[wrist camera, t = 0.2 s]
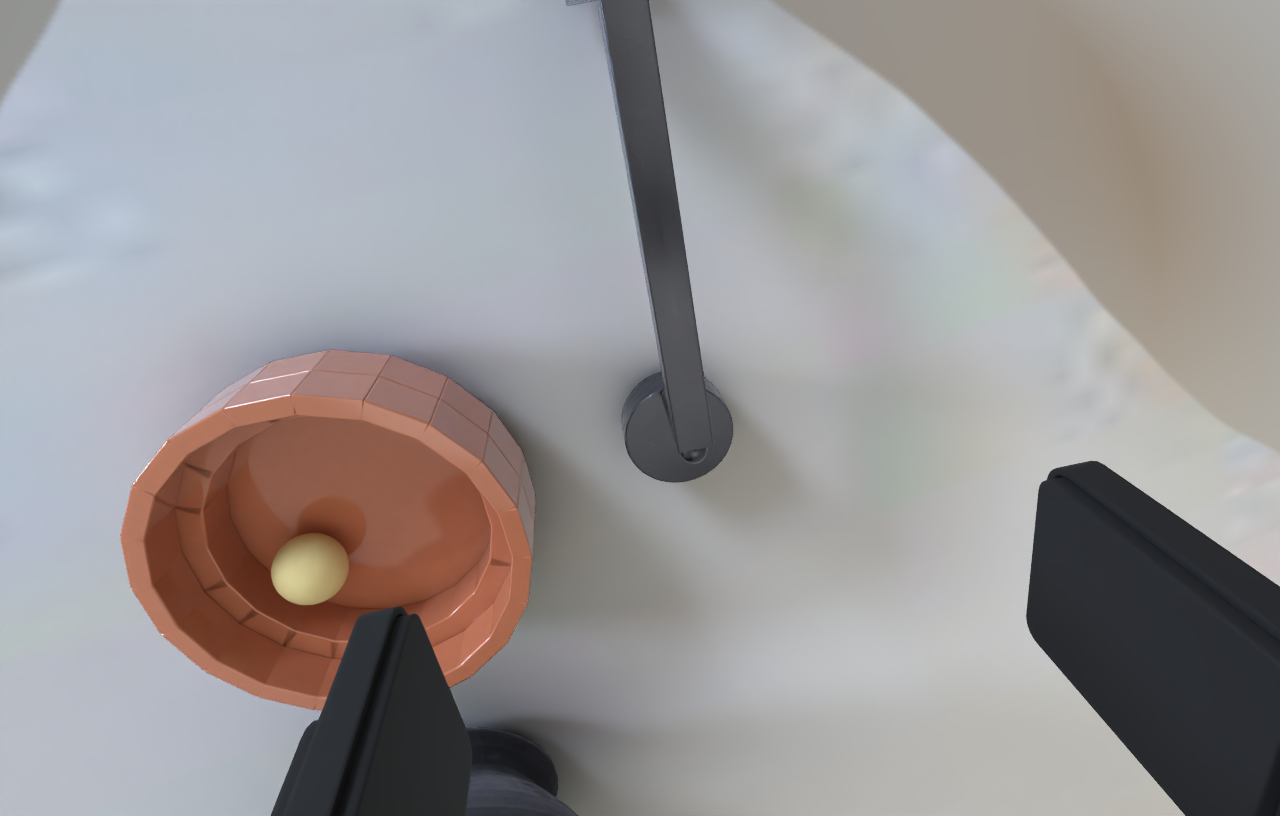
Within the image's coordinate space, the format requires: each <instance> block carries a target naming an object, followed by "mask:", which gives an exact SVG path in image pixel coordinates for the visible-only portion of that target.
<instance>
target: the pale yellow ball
mask: <svg viewBox="0 0 1280 816" xmlns="http://www.w3.org/2000/svg"><path fill="white" fill-rule="evenodd" d="M348 572H349V559H348V555H347V553H346V551H345V549H344V547H343V546H342V545H341V544H340V543H339V542H338V541H337V540H336V539H334V538H333V537H331V536H328V535H325V534H321V533H307V534H302V535H299V536H297V537H294V538H293V539H291V540H289V541H288V542H287V543H285V544H284V545H283V546H282V547H281V548H280V550H279V551H278V552H277V554H276V556H275V558H274V560H273V563H272V567H271V578H272V582H273V585H274V587H275V589H276V590H277V592H278V593H279V594H280V595H281V596H282V597H283V598H285V599H286V600H288V601H290V602H292V603H295V604H299V605H314V604H318V603H321V602H324V601H326V600H328V599H329V598H331V597H332V596H334V595H335V594H336V593H337V592H338V591H339V590H340V589H341V587H342V586H343V585H344V583H345V581H346V579H347V576H348Z"/></svg>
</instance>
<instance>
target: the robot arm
mask: <svg viewBox="0 0 1280 816" xmlns="http://www.w3.org/2000/svg"><path fill="white" fill-rule="evenodd" d="M1026 618H1027V624H1028V628H1029V630H1030V633H1031V635H1032V636H1033V638H1034V640H1035V641H1036V642H1037V644H1038V645H1039V646H1040V647H1041V648H1042V649H1043V650H1044V652H1045V653H1046V654H1047V655H1048V656H1049V657H1050V659H1051V660H1052V661H1053V662H1054V663H1055V664H1056V666H1057V667H1058V668H1059V669H1060V670H1061V671H1062V673H1063V674H1064V675H1065V676H1066V677H1067V678H1068V680H1069V681H1070V682H1071V683H1072V684H1073V685H1074V687H1075V688H1076V689H1077V690H1078V691H1079V692H1080V693H1081V695H1082V696H1083V697H1084V698H1085V699H1086V700H1087V702H1088V703H1089V704H1090V705H1091V706H1092V707H1093V709H1094V710H1095V711H1096V712H1097V713H1098V714H1099V716H1100V717H1101V718H1102V719H1103V720H1104V721H1105V723H1106V724H1107V725H1108V726H1109V727H1110V728H1111V730H1112V731H1113V732H1114V733H1115V734H1116V735H1117V736H1118V738H1119V739H1120V740H1121V741H1122V742H1123V743H1124V745H1125V746H1126V747H1127V748H1128V749H1129V750H1130V752H1131V753H1132V754H1133V755H1134V756H1135V757H1136V759H1137V760H1138V761H1139V762H1140V763H1141V764H1142V766H1143V767H1144V768H1145V769H1146V770H1147V771H1148V773H1149V774H1150V775H1151V776H1152V777H1153V778H1154V779H1155V781H1156V782H1157V783H1158V784H1159V785H1160V786H1161V788H1162V789H1163V790H1164V791H1165V792H1166V793H1167V795H1168V796H1169V797H1170V798H1171V799H1172V800H1173V802H1174V803H1175V804H1176V805H1177V806H1178V807H1179V809H1180V810H1181V811H1182V812H1183V813H1184V814H1185V816H1280V586H1278V585H1277V584H1275V583H1274V582H1272V581H1271V580H1269V579H1268V578H1267V577H1265V576H1264V575H1262V574H1261V573H1259V572H1258V571H1256V570H1255V569H1254V568H1252V567H1251V566H1249V565H1248V564H1246V563H1245V562H1243V561H1242V560H1241V559H1239V558H1238V557H1236V556H1235V555H1233V554H1232V553H1230V552H1229V551H1228V550H1226V549H1225V548H1223V547H1222V546H1220V545H1219V544H1217V543H1216V542H1215V541H1213V540H1212V539H1210V538H1209V537H1207V536H1206V535H1204V534H1203V533H1202V532H1200V531H1199V530H1197V529H1196V528H1194V527H1193V526H1192V525H1190V524H1189V523H1187V522H1186V521H1184V520H1183V519H1181V518H1180V517H1179V516H1177V515H1176V514H1174V513H1173V512H1171V511H1170V510H1168V509H1167V508H1166V507H1164V506H1163V505H1161V504H1160V503H1158V502H1157V501H1155V500H1154V499H1153V498H1151V497H1150V496H1148V495H1147V494H1145V493H1144V492H1142V491H1141V490H1140V489H1138V488H1137V487H1135V486H1134V485H1132V484H1131V483H1129V482H1128V481H1127V480H1125V479H1124V478H1122V477H1121V476H1119V475H1118V474H1117V473H1115V472H1114V471H1112V470H1111V469H1109V468H1108V467H1106V466H1105V465H1103V464H1101V463H1099V462H1097V461H1088V462H1083V463H1078V464H1074V465H1069V466H1064V467H1059V468H1056V469H1053V470H1052V471H1051V472H1050V473H1049V475H1048V478H1047V480H1046V481H1044V482H1042V483H1041V485H1040V487H1039V492H1038V502H1037V512H1036V522H1035V533H1034V543H1033V553H1032V563H1031V573H1030V584H1029V594H1028V604H1027V614H1026ZM471 767H472V747H471V741H470V738H469V735H468V732H467V730H466V727H465V725H464V723H463V720H462V718H461V715H460V713H459V710H458V708H457V706H456V703H455V701H454V698H453V696H452V694H451V691H450V689H449V686H448V684H447V681H446V679H445V677H444V674H443V672H442V669H441V667H440V665H439V662H438V660H437V657H436V655H435V652H434V650H433V648H432V645H431V643H430V640H429V638H428V635H427V633H426V631H425V628H424V626H423V623H422V621H421V619H420V617H419V616H418V615H417V614H409V615H408V614H407V613H406V611H405V610H404V609H403V608H402V607H399V606H398V607H393V608H389V609H384V610H379V611H374V612H370V613H365V614H362V615H360V616H359V617H358V618H357V620H356V622H355V625H354V627H353V630H352V633H351V635H350V638H349V641H348V643H347V646H346V649H345V651H344V654H343V657H342V659H341V662H340V665H339V667H338V670H337V672H336V675H335V678H334V680H333V683H332V686H331V688H330V691H329V694H328V696H327V699H326V702H325V704H324V707H323V709H322V712H321V715H320V717H319V720H317V721H313V722H312V723H311V724H310V725H309V726H308V727H307V728H306V730H305V732H304V734H303V736H302V738H301V740H300V743H299V745H298V748H297V750H296V753H295V755H294V758H293V760H292V763H291V765H290V768H289V771H288V773H287V776H286V778H285V781H284V783H283V786H282V788H281V791H280V793H279V796H278V798H277V801H276V804H275V806H274V809H273V811H272V814H271V816H465V814H466V806H467V799H468V791H469V783H470V775H471Z"/></svg>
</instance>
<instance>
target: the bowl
mask: <svg viewBox="0 0 1280 816" xmlns="http://www.w3.org/2000/svg"><path fill="white" fill-rule="evenodd" d="M535 503H536V498H535V492H534V489H533V485H532V482H531V478H530V475H529V471H528V468H527V464H526V461H525V457H524V454H523V451H522V450H521V448H520V447H519V446H518V444H517V443H516V442H515V440H514V439H513V437H512V436H511V435H510V433H509V432H508V430H507V429H506V428H505V426H504V425H503V423H502V422H501V421H500V419H499V418H498V416H497V415H496V414H495V412H494V411H492V410H491V409H490V408H489V407H487V406H486V405H485V404H483V403H482V402H481V401H479V400H478V399H477V398H475V397H474V396H473V395H471V394H470V393H469V392H467V391H466V390H465V389H463V388H462V387H461V386H459V385H458V384H457V383H455V382H454V381H453V380H451V379H450V378H447V376H445V375H442V374H440V373H437V372H434V371H432V370H429V369H427V368H424V367H421V366H419V365H416V364H413V363H411V362H408V361H406V360H403V359H400V358H398V357H395V356H391V355H385V354H374V353H362V352H351V351H340V350H325V351H320V352H316V353H311V354H306V355H301V356H296V357H291V358H286V359H281V360H276V361H272V362H269V363H268V364H266V365H264V366H262V367H261V368H259V369H257V370H255V371H254V372H252V373H250V374H249V375H247V376H245V377H243V378H242V379H240V380H238V381H237V382H235V383H233V384H231V385H230V386H228V387H226V388H224V389H223V390H222V391H221V392H220V393H219V394H218V395H217V396H216V397H214V398H213V399H212V400H211V401H210V402H209V403H208V404H207V405H206V406H204V407H203V408H202V409H201V410H200V411H199V412H198V413H197V414H195V415H194V416H193V417H192V418H191V419H190V420H189V421H188V422H187V423H185V424H184V425H183V426H182V427H181V428H180V429H179V430H178V431H177V432H175V433H174V434H173V435H172V436H171V437H170V438H169V439H168V440H166V442H165V443H164V444H163V446H162V447H161V448H160V449H159V451H158V452H157V453H156V454H155V456H154V457H153V458H152V460H151V461H150V462H149V463H148V465H147V466H146V467H145V469H144V470H143V471H142V472H141V474H140V475H139V476H138V477H137V479H136V480H135V481H134V483H133V485H132V487H131V492H130V496H129V500H128V504H127V509H126V513H125V517H124V522H123V526H122V530H121V535H120V536H121V537H120V539H121V544H122V549H123V554H124V559H125V564H126V569H127V574H128V578H129V583H130V587H131V588H132V591H133V592H134V594H135V596H136V597H137V599H138V600H139V602H140V603H141V605H142V606H143V608H144V610H145V611H146V613H147V614H148V616H149V617H150V619H151V621H152V622H153V624H154V625H155V627H156V628H157V630H158V631H159V633H160V634H162V636H163V637H164V638H165V639H167V640H168V641H169V642H170V643H171V644H173V645H174V646H175V647H176V648H177V649H178V650H180V651H181V652H182V653H183V654H184V655H186V656H187V657H188V658H189V659H190V660H192V661H193V662H194V663H195V664H196V665H197V666H199V667H200V668H201V669H202V670H206V671H205V672H206V673H208V674H211V675H213V676H215V677H217V678H219V679H221V680H223V681H225V682H227V683H229V684H231V685H233V686H235V687H237V688H240V689H242V690H244V691H246V692H248V693H250V694H252V695H254V696H258V697H259V698H263V699H267V700H272V701H276V702H280V703H285V704H289V705H293V706H298V707H302V708H306V709H311V710H315V709H316V710H322V709H323V707H324V704H325V702H326V699H327V696H328V694H329V691H330V688H331V686H332V683H333V680H334V678H335V675H336V672H337V670H338V667H339V665H340V662H341V659H342V657H343V654H344V651H345V649H346V646H347V643H348V641H349V638H350V635H351V633H352V630H353V627H354V625H355V622H356V620H357V618H358V617H359V616H360V615H362V614H365V613H370V612H374V611H379V610H384V609H389V608H393V607H398V606H399V607H402V608H403V609H404V610H405V611H406V613H407V614H408V615H409V614H417V615H418V616H419V617H420V619H421V621H422V623H423V626H424V628H425V631H426V633H427V635H428V638H429V640H430V643H431V645H432V648H433V650H434V652H435V655H436V657H437V660H438V662H439V665H440V667H441V669H442V672H443V674H444V677H445V679H446V681H447V684H448V686H449V688H450V687H452V686H454V685H456V684H458V683H460V682H462V681H464V680H466V679H468V678H470V677H471V676H473V675H474V674H475V673H476V672H477V671H478V670H479V669H480V668H481V667H482V666H483V665H484V664H486V663H487V662H488V661H489V660H490V659H491V658H492V657H493V656H494V655H495V654H496V653H497V652H498V651H499V650H501V649H502V648H503V647H504V646H505V645H506V644H507V643H508V641H509V639H510V637H511V635H512V633H513V631H514V629H515V627H516V626H517V624H518V622H519V620H520V618H521V616H522V614H523V612H524V610H525V608H526V606H527V604H528V601H529V590H530V579H531V568H532V557H533V540H534V522H535ZM307 533H321V534H325V535H328V536H331V537H333V538H334V539H336V540H337V541H338V542H339V543H340V544H341V545H342V546H343V547H344V549H345V551H346V553H347V555H348V559H349V572H348V576H347V579H346V581H345V583H344V585H343V586H342V587H341V589H340V590H339V591H338V592H337V593H336V594H335V595H334V596H332V597H331V598H329V599H328V600H326V601H324V602H321V603H318V604H314V605H299V604H295V603H292V602H290V601H288V600H286V599H285V598H283V597H282V596H281V595H280V594H279V593H278V592H277V590H276V589H275V587H274V585H273V582H272V578H271V567H272V563H273V560H274V558H275V556H276V554H277V552H278V551H279V550H280V548H281V547H282V546H283V545H284V544H285V543H287V542H288V541H289V540H291V539H293V538H294V537H297V536H299V535H302V534H307Z"/></svg>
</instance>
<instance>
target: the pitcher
mask: <svg viewBox="0 0 1280 816" xmlns="http://www.w3.org/2000/svg"><path fill="white" fill-rule="evenodd" d="M466 730H467V732H468V735H469V738H470V741H471V747H472V767H471V775H470V783H469V791H468V799H467V806H466V814H465V816H578V815H577V814H576V813H575V812H574V811H572V810H571V809H570V808H569V807H568V806H567V805H566V804H564V803H563V802H561V801H560V800H559V799H557V798H556V795H557V791H558V779H557V774H556V771H555V768H554V765H553V763H552V761H551V759H550V758H549V756H548V755H547V754H546V753H545V752H544V751H543V750H542V749H541V748H540V747H539V746H538V745H536V744H534V743H532V742H531V741H529V740H527V739H525V738H523V737H521V736H518V735H516V734H513V733H510V732H507V731H502V730H496V729H490V728H466Z"/></svg>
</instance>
